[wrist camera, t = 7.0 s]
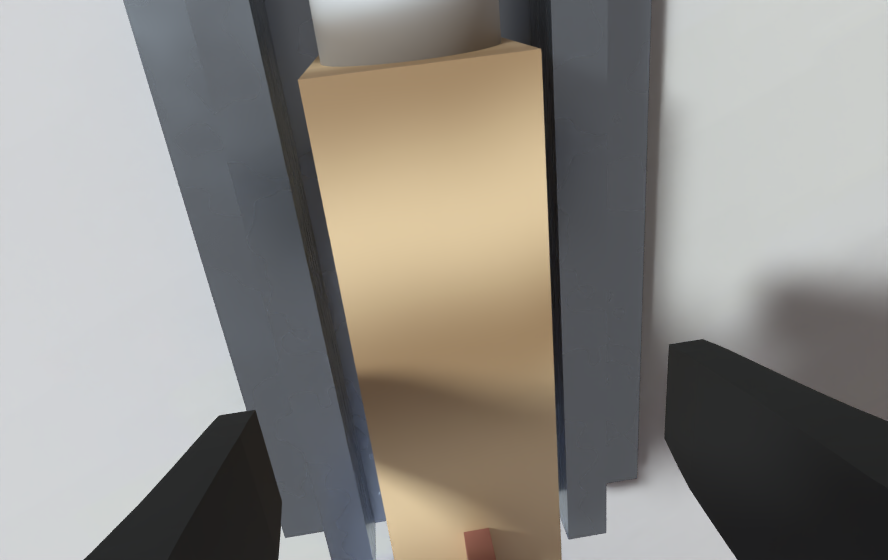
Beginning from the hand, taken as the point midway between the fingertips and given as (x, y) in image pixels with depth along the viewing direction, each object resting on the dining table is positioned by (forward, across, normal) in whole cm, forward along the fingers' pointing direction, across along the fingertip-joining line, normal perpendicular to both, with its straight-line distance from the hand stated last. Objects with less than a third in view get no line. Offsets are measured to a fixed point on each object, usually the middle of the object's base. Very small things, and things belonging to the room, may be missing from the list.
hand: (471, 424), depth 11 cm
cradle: (+8, 0, 0) cm, 8 cm away
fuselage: (+7, 0, 0) cm, 7 cm away
